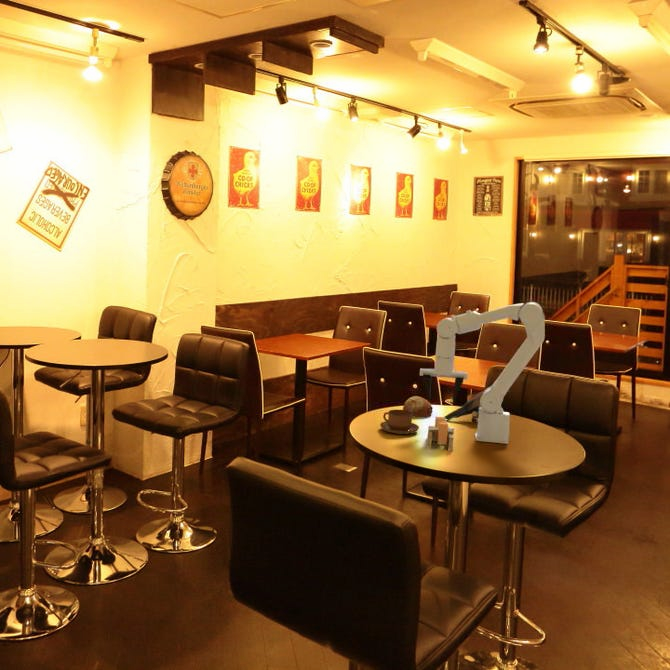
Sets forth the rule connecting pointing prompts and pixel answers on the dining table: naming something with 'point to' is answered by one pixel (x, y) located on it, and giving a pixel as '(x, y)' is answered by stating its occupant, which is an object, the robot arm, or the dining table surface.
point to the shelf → (431, 437)
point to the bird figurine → (467, 408)
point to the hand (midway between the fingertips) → (441, 400)
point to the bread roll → (418, 407)
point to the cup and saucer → (399, 422)
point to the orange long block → (441, 430)
